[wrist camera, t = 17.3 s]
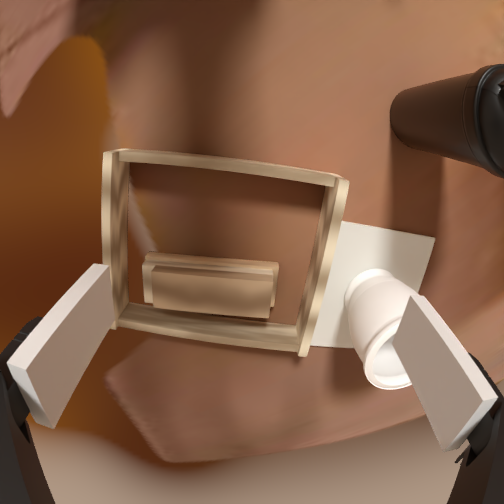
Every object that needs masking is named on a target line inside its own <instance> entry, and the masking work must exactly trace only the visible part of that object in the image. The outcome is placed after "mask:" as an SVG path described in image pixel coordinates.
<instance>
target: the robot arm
mask: <svg viewBox="0 0 504 504" xmlns="http://www.w3.org/2000/svg"><path fill="white" fill-rule="evenodd" d="M114 320H115V314H114V306H113V298H112V289H111V279H110V268H109V265H102V264H93V265H92V266H91V267H90V268H89V269H88V270H87V271H86V272H85V273H84V274H83V275H82V276H81V277H80V278H79V279H78V280H77V281H76V282H75V284H74V285H73V286H72V287H71V288H70V289H69V290H68V291H67V292H66V293H65V294H64V295H63V297H62V298H61V299H60V300H59V301H58V302H57V303H56V304H55V305H54V307H53V308H52V309H51V310H50V311H49V312H48V313H47V314H46V316H45V317H44V318H42V317H36V318H34V319H33V320H31V321H29V322H28V323H27V324H26V325H25V326H24V327H23V328H22V329H21V330H20V333H18V334H17V335H16V336H15V337H14V340H12V341H11V342H10V343H9V344H8V346H7V347H6V348H5V349H4V350H3V352H2V353H1V354H0V504H55V502H54V499H53V497H52V494H51V492H50V489H49V487H48V484H47V481H46V479H45V476H44V473H43V470H42V468H41V465H40V462H39V459H38V456H37V452H36V449H35V446H34V443H33V439H32V436H31V432H30V428H29V425H28V423H27V421H26V417H27V416H28V414H29V412H30V413H31V415H32V416H33V418H34V420H35V422H37V423H39V424H42V425H44V426H47V427H50V428H52V429H54V428H55V426H56V424H57V422H58V420H59V418H60V416H61V414H62V412H63V410H64V408H65V406H66V404H67V403H68V401H69V399H70V397H71V395H72V393H73V391H74V390H75V388H76V386H77V384H78V382H79V380H80V379H81V377H82V375H83V373H84V371H85V370H86V368H87V366H88V364H89V363H90V361H91V359H92V357H93V356H94V354H95V352H96V351H97V349H98V347H99V345H100V344H101V342H102V340H103V339H104V337H105V335H106V334H107V332H108V330H109V329H110V327H111V325H112V324H113V322H114ZM392 346H393V347H394V349H395V351H396V353H397V355H398V357H399V359H400V361H401V363H402V365H403V367H404V369H405V371H406V373H407V375H408V377H409V379H410V381H411V383H412V385H413V387H414V389H415V391H416V394H417V396H418V398H419V400H420V402H421V404H422V406H423V408H424V411H425V413H426V415H427V417H428V419H429V421H430V424H431V426H432V428H433V430H434V433H435V435H436V437H437V439H438V442H439V444H440V446H441V449H442V451H443V452H446V451H450V450H454V449H458V448H459V447H460V446H461V445H462V444H463V442H464V441H465V440H466V439H468V441H469V443H470V445H469V446H468V447H467V448H466V449H465V450H464V452H463V453H462V454H461V455H460V456H459V457H458V458H457V460H456V461H455V463H458V462H459V461H460V460H461V459H462V458H463V460H462V463H461V464H460V465H461V466H460V469H459V472H458V475H457V478H456V481H455V484H454V487H453V489H452V492H451V495H450V498H449V500H448V502H447V504H504V397H503V395H502V394H501V392H500V391H499V390H498V388H497V386H496V385H495V384H494V382H493V381H492V379H491V378H490V377H489V375H488V373H487V372H486V371H485V370H484V368H483V366H482V365H481V364H480V362H479V361H478V360H477V359H476V358H475V357H474V356H473V355H471V354H470V353H467V351H466V350H465V349H464V347H463V346H462V344H461V343H460V342H459V340H458V339H457V338H456V336H455V335H454V334H453V332H452V331H451V330H450V328H449V327H448V326H447V325H446V323H445V322H444V321H443V319H442V318H441V317H440V316H439V314H438V313H437V312H436V311H435V309H434V308H433V307H432V305H431V304H430V303H429V302H428V301H427V299H426V298H425V297H424V296H418V295H410V297H409V300H408V303H407V305H406V308H405V311H404V314H403V316H402V319H401V321H400V324H399V327H398V329H397V332H396V334H395V337H394V339H393V341H392Z"/></svg>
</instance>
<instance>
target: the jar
mask: <svg viewBox="0 0 504 504" xmlns="http://www.w3.org/2000/svg"><path fill="white" fill-rule="evenodd" d="M410 295H418V296H420V295H419V294H418V293H417V292H415V291H414V290H413V289H411V288H410V287H408V286H407V285H405V284H404V283H403V282H401V281H400V280H398V279H396V278H395V277H394V276H393V275H392V274H391V273H390V272H388V271H386V270H384V269H377V268H376V269H369V270H366V271H364V272H362V273H360V274H359V275H357V276H356V277H355V278H354V279H353V280H352V281H351V282H350V284H349V286H348V287H347V290H346V292H345V298H344V302H345V306H346V309H347V311H348V322H349V329H350V335H351V339H352V343H353V345H354V348H355V350H356V352H357V354H358V356H359V358H360V359H361V361H362V362H363V369H364V373H365V375H366V377H367V379H368V380H369V382H370V383H371V384H373V385H374V386H376V387H378V388H381V389H399V388H403V387H406V386H409V385H411V384H412V383H411V381H410V379H409V377H408V375H407V373H406V371H405V369H404V367H403V365H402V363H401V361H400V359H399V357H398V355H397V353H396V351H395V349H394V347H393V346H392V341H393V339H394V337H395V334H396V332H397V329H398V327H399V324H400V321H401V319H402V316H403V314H404V311H405V308H406V305H407V303H408V300H409V297H410Z"/></svg>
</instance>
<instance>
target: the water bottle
mask: <svg viewBox="0 0 504 504" xmlns="http://www.w3.org/2000/svg"><path fill="white" fill-rule="evenodd" d="M390 121H391V125H392V128H393V131H394V133H395V134H396V136H397V137H398V138H399V140H400V141H401V142H403V143H404V144H405V145H407V146H409V147H411V148H414V149H418V150H422V151H426V152H430V153H434V154H438V155H441V156H444V157H449V158H451V159H455V160H458V161H461V162H465V163H469V164H472V165H475V166H479V167H482V168H484V169H486V170H487V171H488V172H490V173H491V174H493V175H495V176H497V177H501V178H504V64H496V65H490V66H485V67H482V68H480V69H479V70H478V71H476V72H475V73H471V74H466V75H462V76H457V77H453V78H449V79H444V80H440V81H436V82H432V83H428V84H425V85H421V86H417V87H413V88H410V89H406V90H404V91H402V92H400V93H399V94H398V95H397V96H396V97H395V99H394V100H393V102H392V105H391V109H390Z"/></svg>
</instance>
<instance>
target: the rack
mask: <svg viewBox="0 0 504 504" xmlns="http://www.w3.org/2000/svg"><path fill="white" fill-rule="evenodd" d="M130 162H139V163H152V164H165V165H176V166H186V167H196V168H205V169H214V170H223V171H231V172H239V173H247V174H254V175H261V176H268V177H275V178H282V179H288V180H295V181H301V182H307V183H313V184H319V185H325V186H326V187H325V192H324V197H323V203H322V208H321V213H320V218H319V223H318V228H317V233H316V238H315V242H314V247H313V252H312V257H311V261H310V266H309V270H308V275H307V279H306V284H305V288H304V292H303V297H302V301H301V305H300V309H299V313H298V318H297V322H296V325H288V324H279V323H270V322H261V321H253V320H244V319H236V318H229V317H221V316H214V315H207V314H200V313H193V312H186V311H179V310H170V309H162V308H153V306H149V305H144V304H138V303H132V302H129V291H128V247H127V237H128V235H127V233H128V232H127V231H128V193H129V173H130ZM349 183H350V182H349V181H348V180H346V179H344V178H343V177H341V176H339V175H337V174H333V173H328V172H322V171H316V170H311V169H305V168H299V167H293V166H286V165H280V164H273V163H267V162H259V161H252V160H245V159H237V158H229V157H220V156H211V155H201V154H191V153H180V152H169V151H155V150H140V149H118V150H113V151H108V152H104V153H103V169H102V256H103V265H109V268H110V279H111V289H112V298H113V306H114V314H115V320H114V322H113V324H112V325H111V327H110V329H114V330H116V329H117V327H118V326H120V327H126V328H130V329H136V330H141V331H146V332H151V333H157V334H162V335H168V336H174V337H180V338H186V339H193V340H200V341H206V342H213V343H221V344H228V345H236V346H244V347H253V348H262V349H272V350H282V351H293V352H297V353H298V356H301V357H307V354H308V350H309V347H310V344H311V340H312V337H313V333H314V330H315V326H316V323H317V319H318V315H319V312H320V308H321V304H322V301H323V297H324V293H325V289H326V285H327V281H328V277H329V273H330V269H331V265H332V261H333V257H334V253H335V248H336V244H337V240H338V235H339V231H340V226H341V222H342V217H343V212H344V208H345V203H346V198H347V193H348V188H349Z"/></svg>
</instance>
